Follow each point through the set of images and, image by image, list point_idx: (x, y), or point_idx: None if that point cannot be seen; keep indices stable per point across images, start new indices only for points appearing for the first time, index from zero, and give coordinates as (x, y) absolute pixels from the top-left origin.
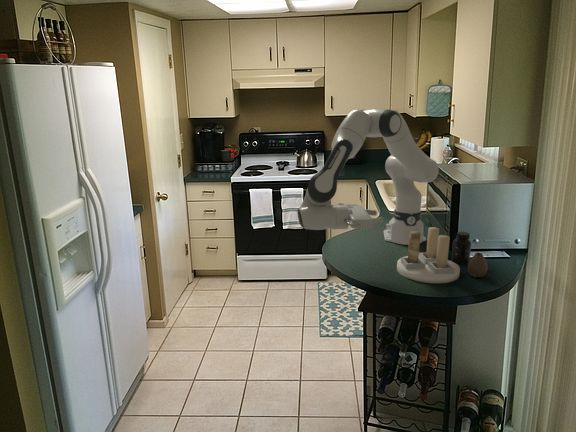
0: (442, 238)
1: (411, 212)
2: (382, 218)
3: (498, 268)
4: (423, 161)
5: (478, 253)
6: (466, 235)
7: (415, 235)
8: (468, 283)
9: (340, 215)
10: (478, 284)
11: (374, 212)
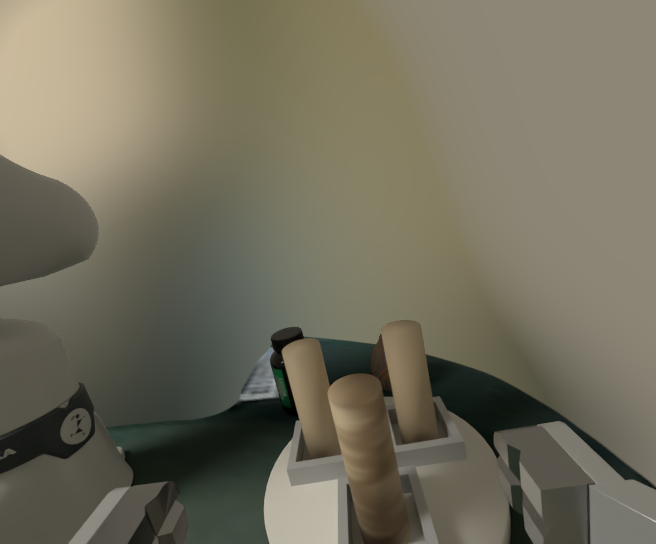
0: (419, 330)
1: (61, 399)
2: (564, 429)
3: (349, 357)
4: (30, 178)
5: (379, 337)
6: (300, 330)
7: (382, 392)
8: (457, 402)
9: None
10: (456, 387)
11: (151, 527)
